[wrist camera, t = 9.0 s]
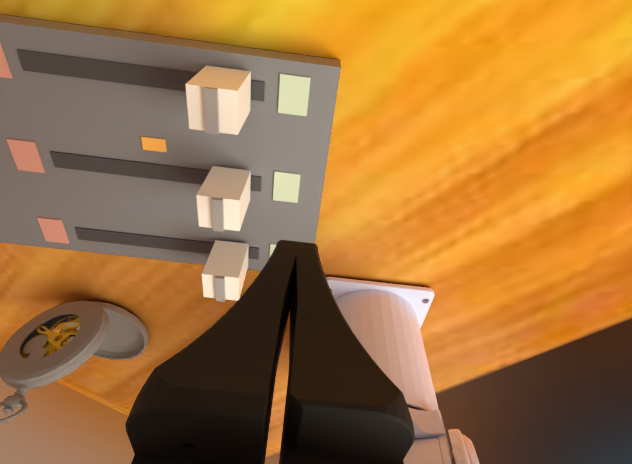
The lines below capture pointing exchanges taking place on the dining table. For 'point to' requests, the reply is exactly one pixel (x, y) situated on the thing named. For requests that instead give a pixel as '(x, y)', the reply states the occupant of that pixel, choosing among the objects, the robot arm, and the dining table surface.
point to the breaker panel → (152, 142)
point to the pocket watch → (59, 359)
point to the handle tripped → (224, 198)
